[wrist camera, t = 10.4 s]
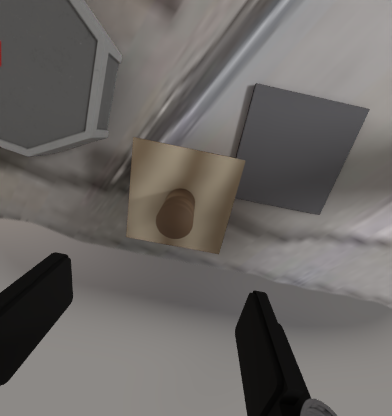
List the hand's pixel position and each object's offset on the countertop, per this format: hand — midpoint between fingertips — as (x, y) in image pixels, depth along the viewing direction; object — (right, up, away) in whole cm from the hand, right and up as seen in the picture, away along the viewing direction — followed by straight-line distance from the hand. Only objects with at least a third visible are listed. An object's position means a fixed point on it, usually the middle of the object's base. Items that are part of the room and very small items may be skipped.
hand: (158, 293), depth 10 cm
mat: (+15, +12, +17) cm, 26 cm away
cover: (0, +5, +15) cm, 16 cm away
